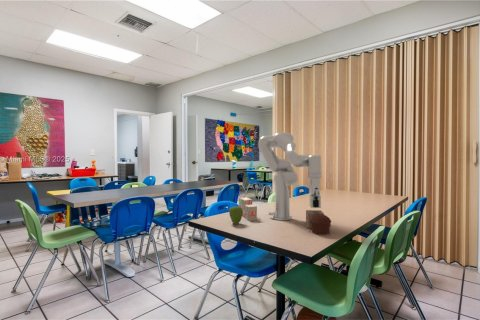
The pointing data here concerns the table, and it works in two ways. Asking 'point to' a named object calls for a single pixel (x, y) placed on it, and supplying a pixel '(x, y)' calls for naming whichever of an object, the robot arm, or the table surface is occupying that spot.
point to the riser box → (309, 214)
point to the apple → (236, 214)
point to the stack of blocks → (248, 208)
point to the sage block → (312, 201)
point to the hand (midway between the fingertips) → (315, 205)
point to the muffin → (320, 224)
